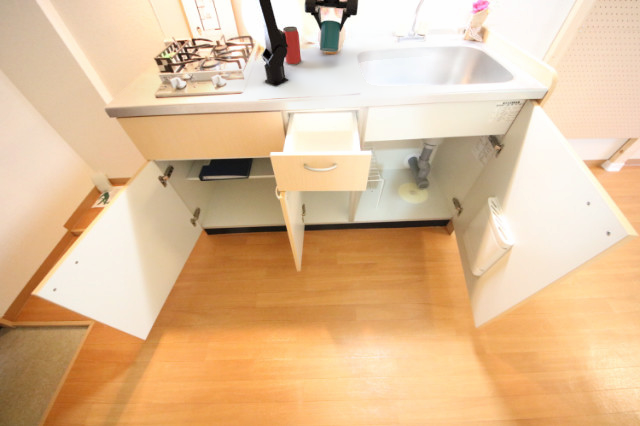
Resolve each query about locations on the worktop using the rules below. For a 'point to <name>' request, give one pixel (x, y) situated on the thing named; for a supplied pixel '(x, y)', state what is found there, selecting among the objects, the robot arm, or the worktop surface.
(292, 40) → the beer can
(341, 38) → the cup
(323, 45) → the jar
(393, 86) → the worktop surface
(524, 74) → the worktop surface
